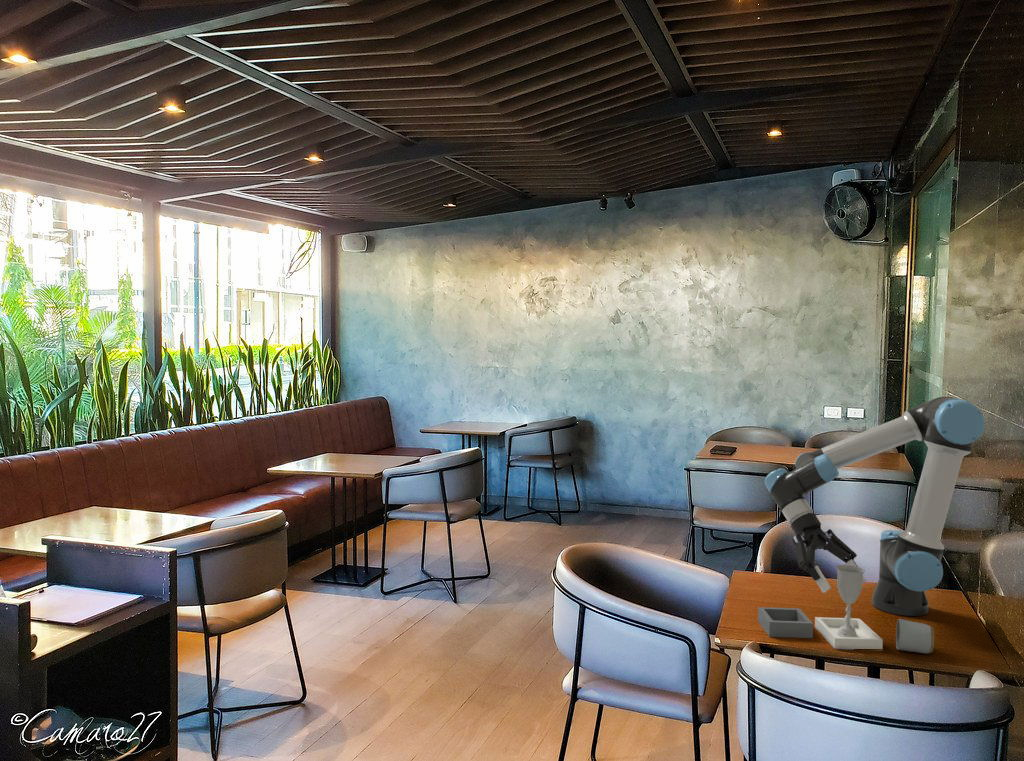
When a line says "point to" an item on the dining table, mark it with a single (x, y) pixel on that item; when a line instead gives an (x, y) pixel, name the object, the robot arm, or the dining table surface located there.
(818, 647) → the dining table surface
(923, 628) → the ceramic mug
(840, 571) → the chalice
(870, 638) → the off-white tray
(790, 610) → the charcoal collar
